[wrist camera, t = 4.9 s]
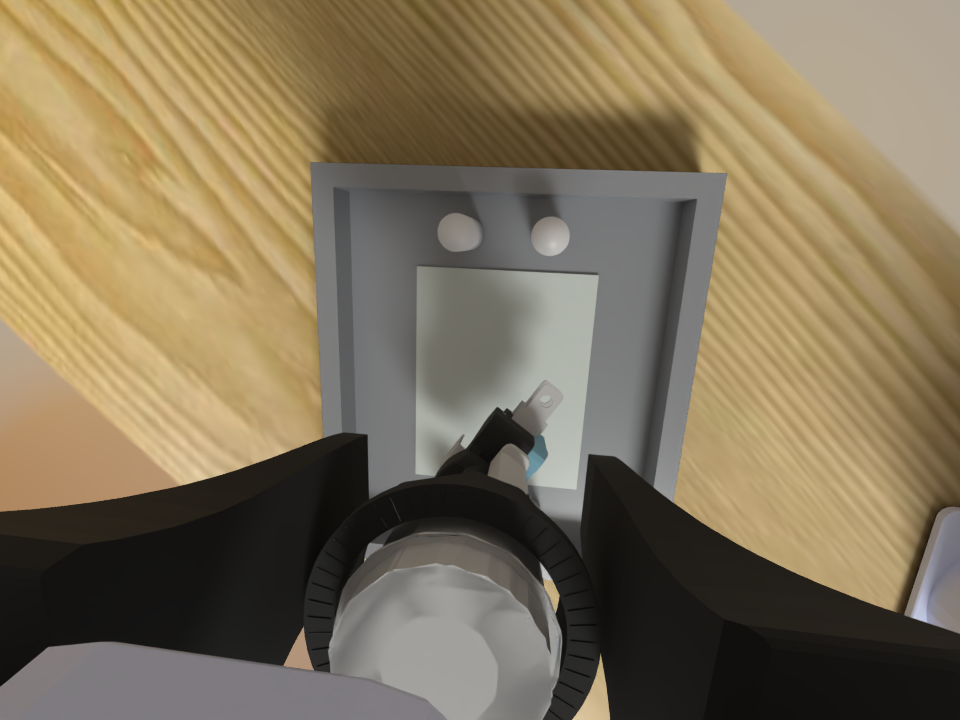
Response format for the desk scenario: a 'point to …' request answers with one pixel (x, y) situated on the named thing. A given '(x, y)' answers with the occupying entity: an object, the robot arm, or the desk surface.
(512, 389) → the pin tray
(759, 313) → the desk surface
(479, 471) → the push button
